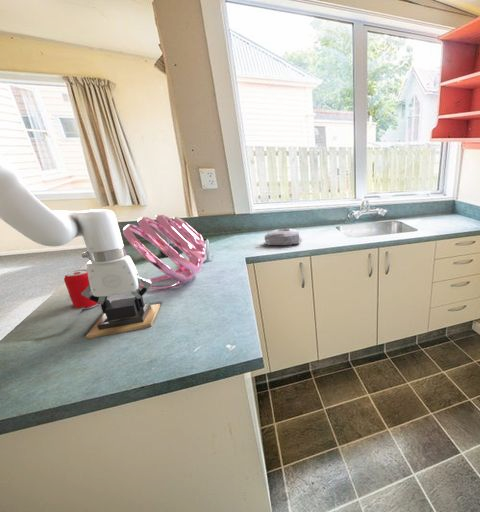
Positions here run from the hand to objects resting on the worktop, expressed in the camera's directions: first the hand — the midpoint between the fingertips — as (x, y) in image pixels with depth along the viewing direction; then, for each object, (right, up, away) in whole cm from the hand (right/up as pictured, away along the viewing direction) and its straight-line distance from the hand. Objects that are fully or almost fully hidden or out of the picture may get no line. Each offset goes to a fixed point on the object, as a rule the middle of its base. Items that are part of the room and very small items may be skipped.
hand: (125, 311), depth 87 cm
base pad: (0, -3, +1) cm, 3 cm away
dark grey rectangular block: (0, -1, 0) cm, 1 cm away
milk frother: (-34, +18, +66) cm, 76 cm away
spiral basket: (-5, +6, +29) cm, 30 cm away
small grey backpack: (+18, +24, +85) cm, 90 cm away
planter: (-8, +14, +54) cm, 56 cm away
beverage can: (-20, 0, +9) cm, 22 cm away
